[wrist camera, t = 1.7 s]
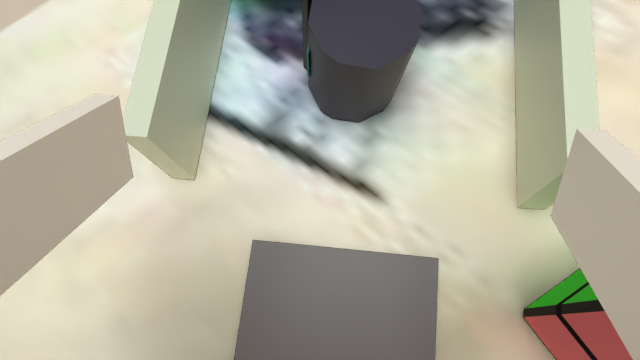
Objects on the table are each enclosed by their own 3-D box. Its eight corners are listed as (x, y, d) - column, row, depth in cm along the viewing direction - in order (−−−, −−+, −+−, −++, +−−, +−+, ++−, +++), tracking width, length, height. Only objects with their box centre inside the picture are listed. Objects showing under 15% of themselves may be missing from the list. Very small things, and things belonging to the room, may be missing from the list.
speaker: (284, 48, 32) (268, -66, 22) (359, 17, 32) (377, -107, 22) (330, 143, 30) (336, 68, 20) (408, 109, 31) (452, 20, 21)
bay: (543, 209, 27) (603, 171, 20) (172, 178, 30) (118, 135, 23) (534, -54, 33) (579, -150, 26) (224, -61, 35) (193, -151, 29)
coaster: (222, 442, 25) (220, 443, 24) (253, 240, 28) (252, 239, 28) (429, 473, 23) (430, 475, 23) (437, 258, 27) (438, 258, 26)
